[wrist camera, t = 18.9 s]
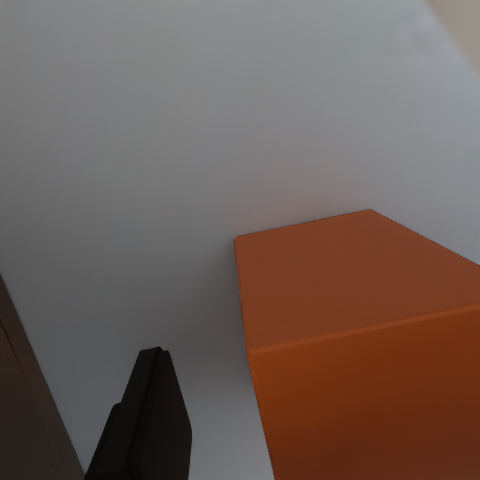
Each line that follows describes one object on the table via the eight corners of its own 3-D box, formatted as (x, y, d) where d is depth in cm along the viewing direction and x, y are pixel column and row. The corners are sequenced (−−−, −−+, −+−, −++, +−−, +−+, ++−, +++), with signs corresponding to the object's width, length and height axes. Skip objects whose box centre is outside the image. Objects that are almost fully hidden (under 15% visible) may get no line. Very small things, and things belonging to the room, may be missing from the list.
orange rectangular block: (232, 236, 11) (244, 352, 5) (371, 207, 11) (538, 292, 5) (267, 400, 13) (306, 623, 7) (388, 376, 13) (526, 580, 7)
